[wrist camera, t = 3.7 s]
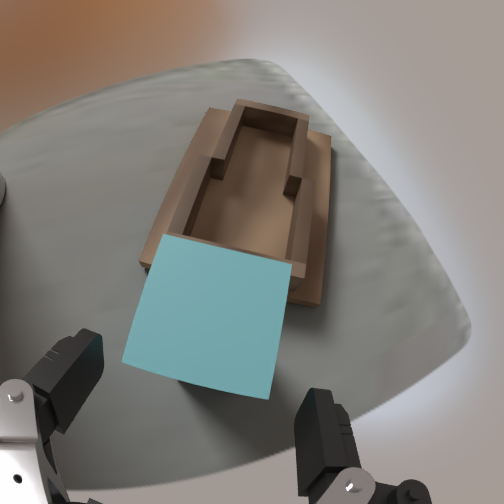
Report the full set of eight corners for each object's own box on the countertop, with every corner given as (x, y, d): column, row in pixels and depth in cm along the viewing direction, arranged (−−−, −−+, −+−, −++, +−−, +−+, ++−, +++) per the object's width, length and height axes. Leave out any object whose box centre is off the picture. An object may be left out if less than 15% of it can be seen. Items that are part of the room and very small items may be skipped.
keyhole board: (141, 266, 21) (130, 244, 18) (208, 114, 29) (210, 88, 26) (315, 307, 21) (333, 292, 18) (328, 142, 29) (338, 118, 26)
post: (175, 378, 18) (121, 362, 7) (189, 321, 19) (163, 233, 9) (234, 392, 18) (268, 399, 7) (246, 335, 20) (291, 264, 9)
